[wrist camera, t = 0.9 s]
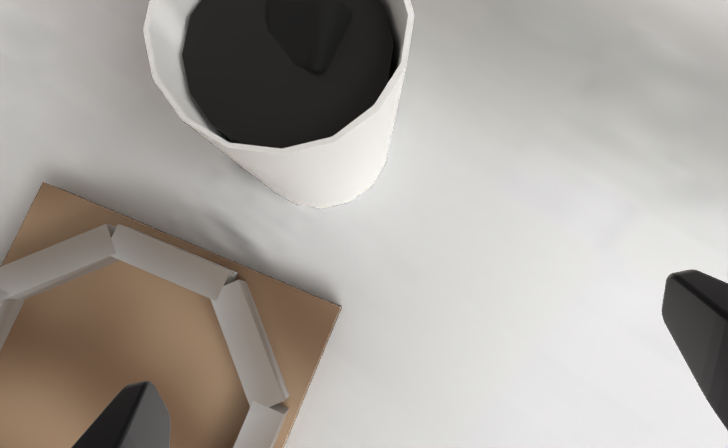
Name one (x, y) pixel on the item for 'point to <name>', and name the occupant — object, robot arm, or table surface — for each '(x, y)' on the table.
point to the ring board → (146, 332)
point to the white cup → (287, 85)
